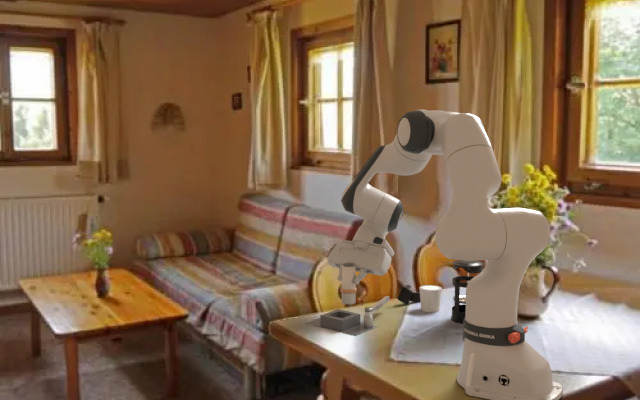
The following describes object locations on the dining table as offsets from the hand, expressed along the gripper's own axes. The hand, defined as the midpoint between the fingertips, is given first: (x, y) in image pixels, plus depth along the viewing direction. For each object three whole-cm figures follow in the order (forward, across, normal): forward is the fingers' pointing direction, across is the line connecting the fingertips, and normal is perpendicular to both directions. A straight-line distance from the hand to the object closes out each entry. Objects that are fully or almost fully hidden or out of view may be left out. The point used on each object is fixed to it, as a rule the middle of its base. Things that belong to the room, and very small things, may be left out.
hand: (347, 281), depth 198 cm
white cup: (-8, +14, +25) cm, 30 cm away
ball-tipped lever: (+3, +9, +7) cm, 12 cm away
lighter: (-10, +5, +26) cm, 28 cm away
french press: (-7, +28, +23) cm, 37 cm away
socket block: (+14, +4, +2) cm, 15 cm away
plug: (+4, 0, +5) cm, 6 cm away
